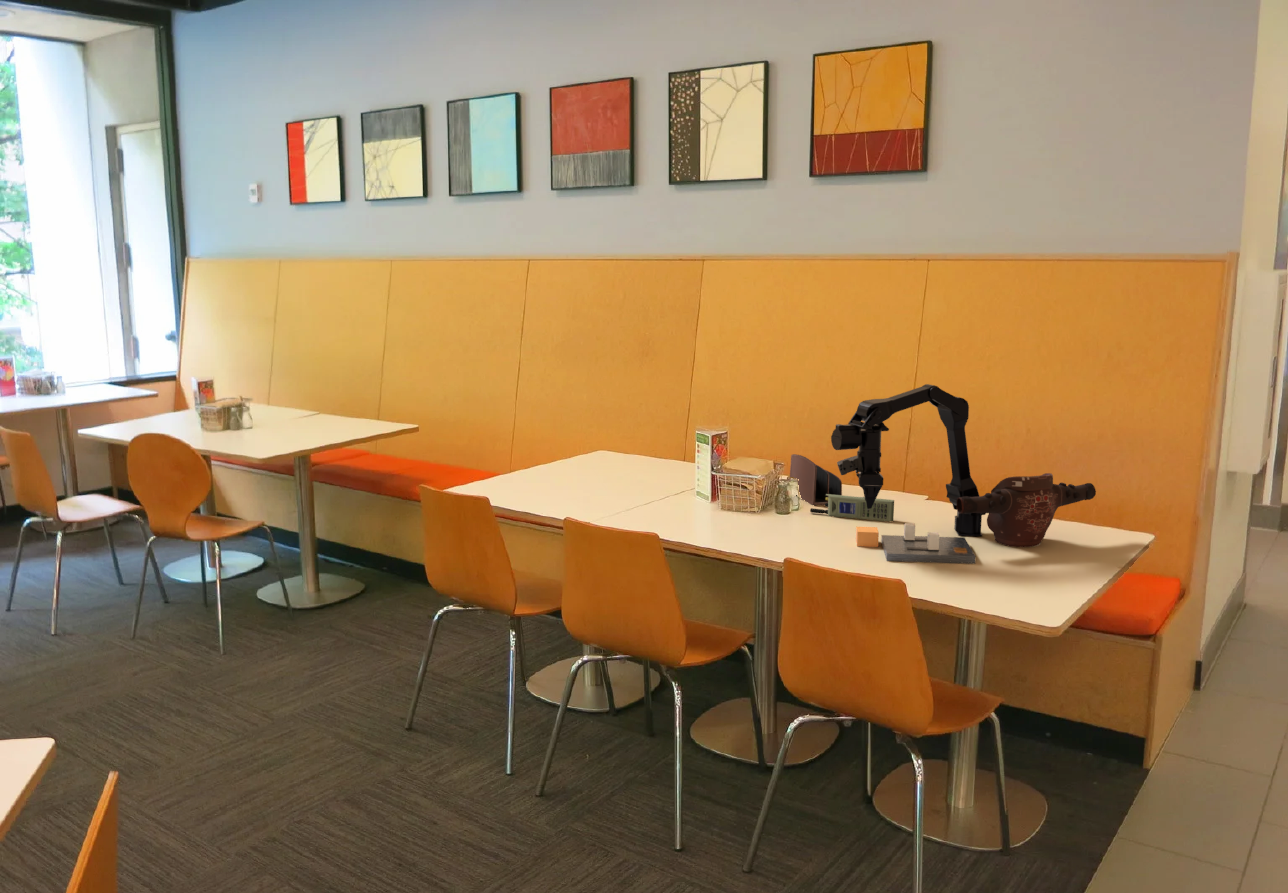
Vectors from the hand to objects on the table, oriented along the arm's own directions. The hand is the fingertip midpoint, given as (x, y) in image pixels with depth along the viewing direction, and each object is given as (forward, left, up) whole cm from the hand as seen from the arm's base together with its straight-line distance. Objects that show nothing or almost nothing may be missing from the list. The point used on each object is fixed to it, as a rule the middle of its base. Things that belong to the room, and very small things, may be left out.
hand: (868, 504), depth 285 cm
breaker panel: (-15, +7, -11) cm, 20 cm away
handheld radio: (+3, -29, -12) cm, 32 cm away
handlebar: (-42, -5, -11) cm, 44 cm away
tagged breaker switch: (-16, +11, -9) cm, 21 cm away
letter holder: (+13, -54, -11) cm, 56 cm away
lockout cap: (0, 0, -11) cm, 11 cm away
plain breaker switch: (-11, +2, -9) cm, 14 cm away
